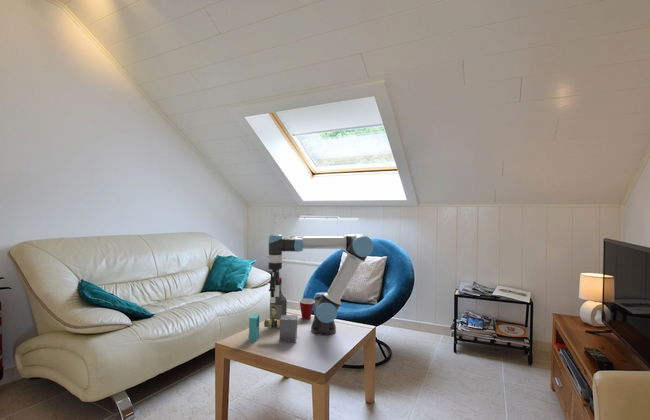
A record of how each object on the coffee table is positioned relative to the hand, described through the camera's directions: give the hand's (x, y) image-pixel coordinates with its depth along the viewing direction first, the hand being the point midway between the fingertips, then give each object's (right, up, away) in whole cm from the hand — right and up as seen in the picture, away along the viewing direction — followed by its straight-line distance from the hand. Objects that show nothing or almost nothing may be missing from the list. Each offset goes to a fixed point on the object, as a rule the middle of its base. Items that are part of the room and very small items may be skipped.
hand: (274, 299), depth 194 cm
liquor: (-1, -23, +23) cm, 32 cm away
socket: (-12, -22, 0) cm, 25 cm away
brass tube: (+3, -16, 0) cm, 16 cm away
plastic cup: (+16, -23, +40) cm, 49 cm away
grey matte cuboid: (+8, -23, 0) cm, 24 cm away
